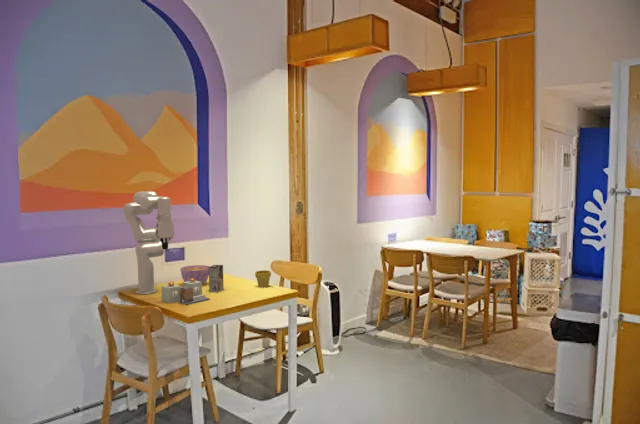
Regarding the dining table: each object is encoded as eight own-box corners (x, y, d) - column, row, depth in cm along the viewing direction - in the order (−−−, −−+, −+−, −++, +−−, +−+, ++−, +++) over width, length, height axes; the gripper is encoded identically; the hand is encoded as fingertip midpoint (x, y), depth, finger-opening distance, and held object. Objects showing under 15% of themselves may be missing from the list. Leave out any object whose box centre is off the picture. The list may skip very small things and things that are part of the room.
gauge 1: (167, 294, 310) (166, 283, 309) (172, 293, 312) (171, 282, 312) (170, 295, 307) (170, 283, 307) (175, 294, 310) (175, 282, 309)
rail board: (177, 302, 306) (177, 298, 306) (200, 297, 318) (200, 293, 318) (186, 305, 300) (186, 300, 300) (209, 299, 312) (209, 295, 312)
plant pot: (253, 287, 344) (253, 273, 343) (258, 284, 354) (257, 270, 354) (268, 288, 342) (268, 273, 342) (272, 284, 353) (272, 270, 352)
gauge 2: (188, 289, 321) (188, 279, 320) (193, 288, 324) (192, 278, 323) (191, 290, 319) (191, 279, 318) (196, 289, 321) (196, 278, 321)
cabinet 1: (161, 301, 310) (161, 286, 309) (173, 298, 316) (173, 284, 315) (169, 303, 304) (169, 288, 304) (181, 300, 310) (181, 286, 310)
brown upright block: (180, 300, 305) (179, 287, 305) (187, 299, 309) (186, 286, 308) (186, 302, 301) (185, 289, 301) (193, 300, 305) (192, 287, 304)
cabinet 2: (183, 296, 321) (182, 282, 320) (194, 294, 327) (193, 280, 326) (191, 298, 316) (191, 284, 315) (202, 296, 322) (201, 282, 321)
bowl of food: (174, 285, 351) (173, 268, 350) (195, 280, 368) (195, 264, 367) (195, 289, 340) (195, 271, 340) (216, 283, 357) (216, 266, 357)
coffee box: (214, 288, 342) (214, 264, 340) (223, 289, 340) (223, 264, 339) (208, 291, 333) (208, 267, 331) (218, 292, 331) (217, 267, 330)
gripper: (156, 219, 298) (157, 251, 299) (178, 217, 309) (179, 248, 311) (149, 218, 303) (150, 250, 304) (171, 216, 314) (172, 247, 316)
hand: (165, 249), depth 307 cm, fingers closed
